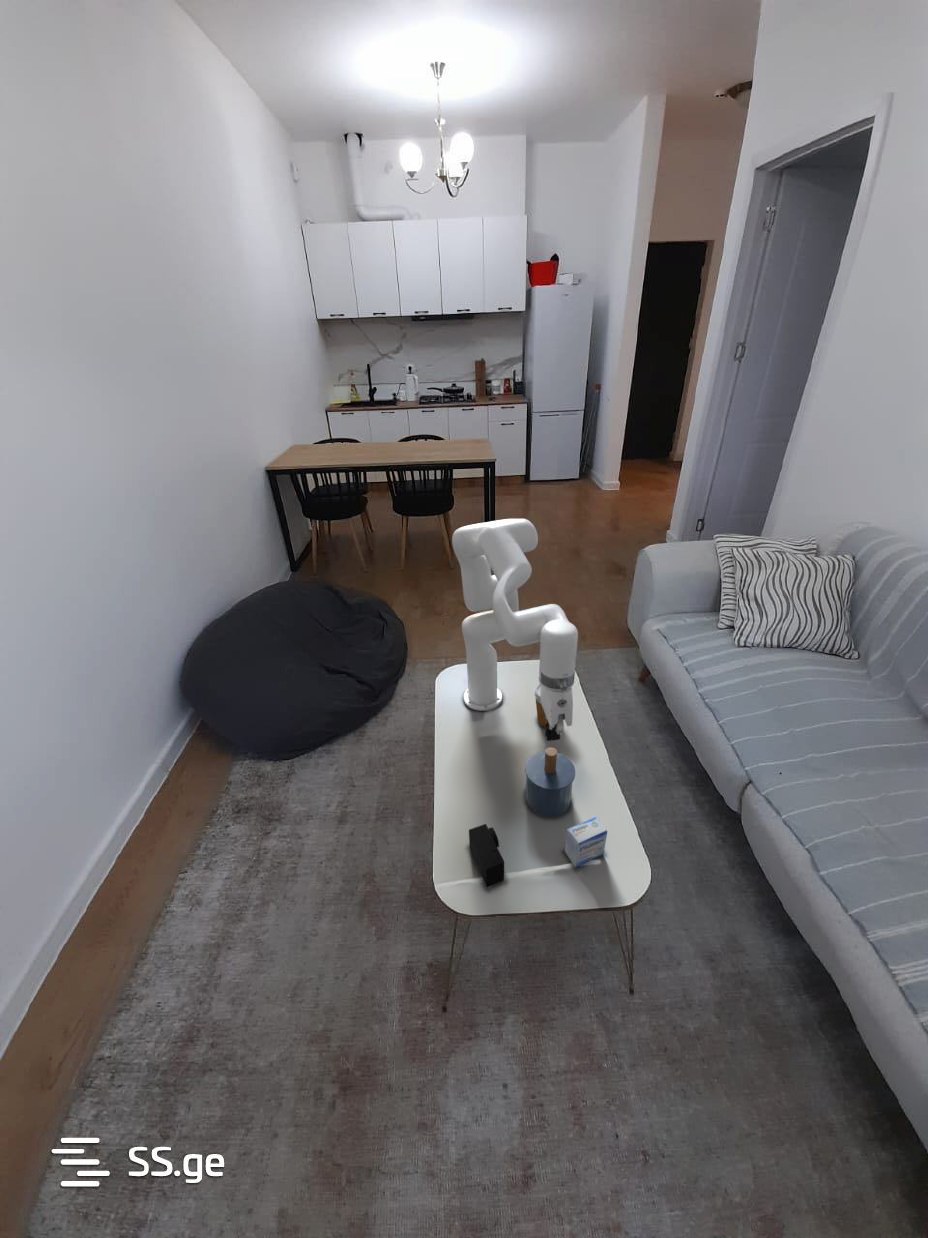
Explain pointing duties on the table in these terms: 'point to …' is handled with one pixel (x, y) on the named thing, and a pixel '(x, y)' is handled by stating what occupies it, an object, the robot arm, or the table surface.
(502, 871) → the digital camera
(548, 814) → the cup
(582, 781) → the table surface
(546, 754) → the lid
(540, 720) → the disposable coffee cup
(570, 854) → the medicine box
